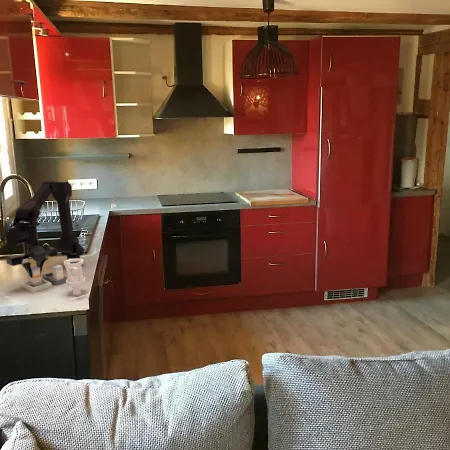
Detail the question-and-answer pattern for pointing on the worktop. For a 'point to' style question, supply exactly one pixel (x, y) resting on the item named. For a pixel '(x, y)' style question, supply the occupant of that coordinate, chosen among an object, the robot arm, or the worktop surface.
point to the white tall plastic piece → (75, 275)
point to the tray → (28, 283)
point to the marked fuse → (35, 276)
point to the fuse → (57, 272)
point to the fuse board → (50, 278)
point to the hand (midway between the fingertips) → (35, 276)
